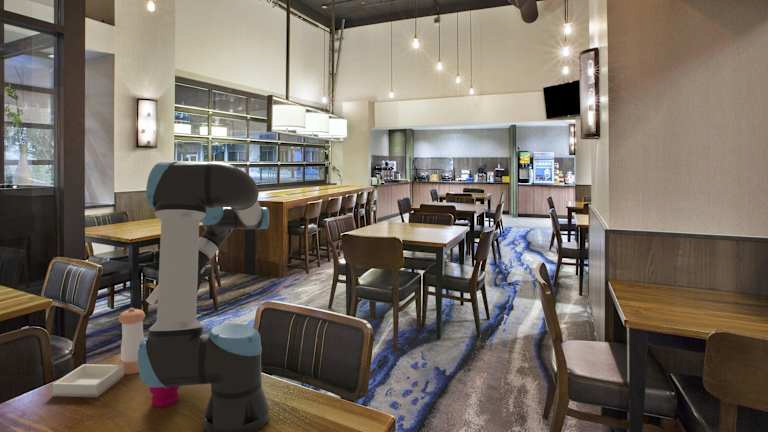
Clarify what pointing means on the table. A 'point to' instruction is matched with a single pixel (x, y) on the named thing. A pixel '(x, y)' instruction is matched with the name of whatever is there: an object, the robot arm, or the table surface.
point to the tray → (88, 380)
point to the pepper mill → (164, 396)
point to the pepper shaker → (131, 338)
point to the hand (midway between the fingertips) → (160, 306)
